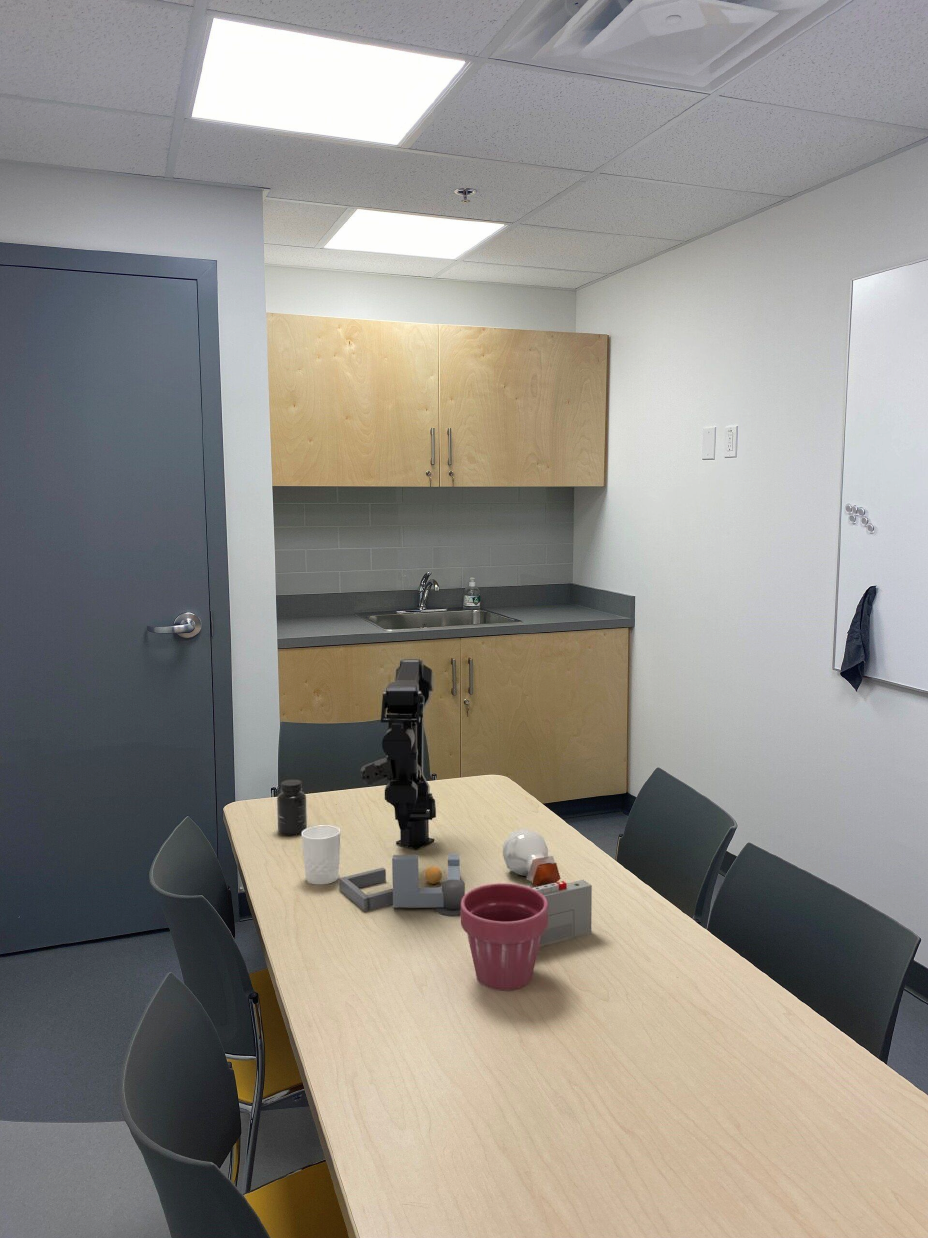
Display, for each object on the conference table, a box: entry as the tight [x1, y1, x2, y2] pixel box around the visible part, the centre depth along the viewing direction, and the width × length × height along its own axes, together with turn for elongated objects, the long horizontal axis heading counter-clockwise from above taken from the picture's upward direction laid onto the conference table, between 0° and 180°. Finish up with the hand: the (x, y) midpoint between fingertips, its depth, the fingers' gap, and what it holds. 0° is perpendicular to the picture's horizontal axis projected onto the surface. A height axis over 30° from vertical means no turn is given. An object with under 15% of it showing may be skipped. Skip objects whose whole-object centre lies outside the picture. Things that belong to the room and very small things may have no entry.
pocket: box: [338, 867, 393, 912], centre depth 175 cm, size 10×11×2 cm
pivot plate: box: [434, 907, 461, 917], centre depth 169 cm, size 7×7×1 cm
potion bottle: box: [502, 828, 561, 887], centre depth 182 cm, size 9×10×15 cm
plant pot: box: [460, 882, 548, 991], centre depth 144 cm, size 14×14×13 cm
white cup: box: [301, 824, 341, 886], centre depth 183 cm, size 8×8×10 cm
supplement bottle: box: [276, 779, 308, 837], centre depth 210 cm, size 7×7×12 cm
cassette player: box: [531, 879, 593, 947], centre depth 156 cm, size 16×3×10 cm, turn 116°
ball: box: [424, 865, 443, 885], centre depth 180 cm, size 4×4×4 cm
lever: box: [391, 853, 466, 909], centre depth 175 cm, size 17×14×10 cm
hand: (404, 822), depth 181 cm, fingers open, 9 cm apart
